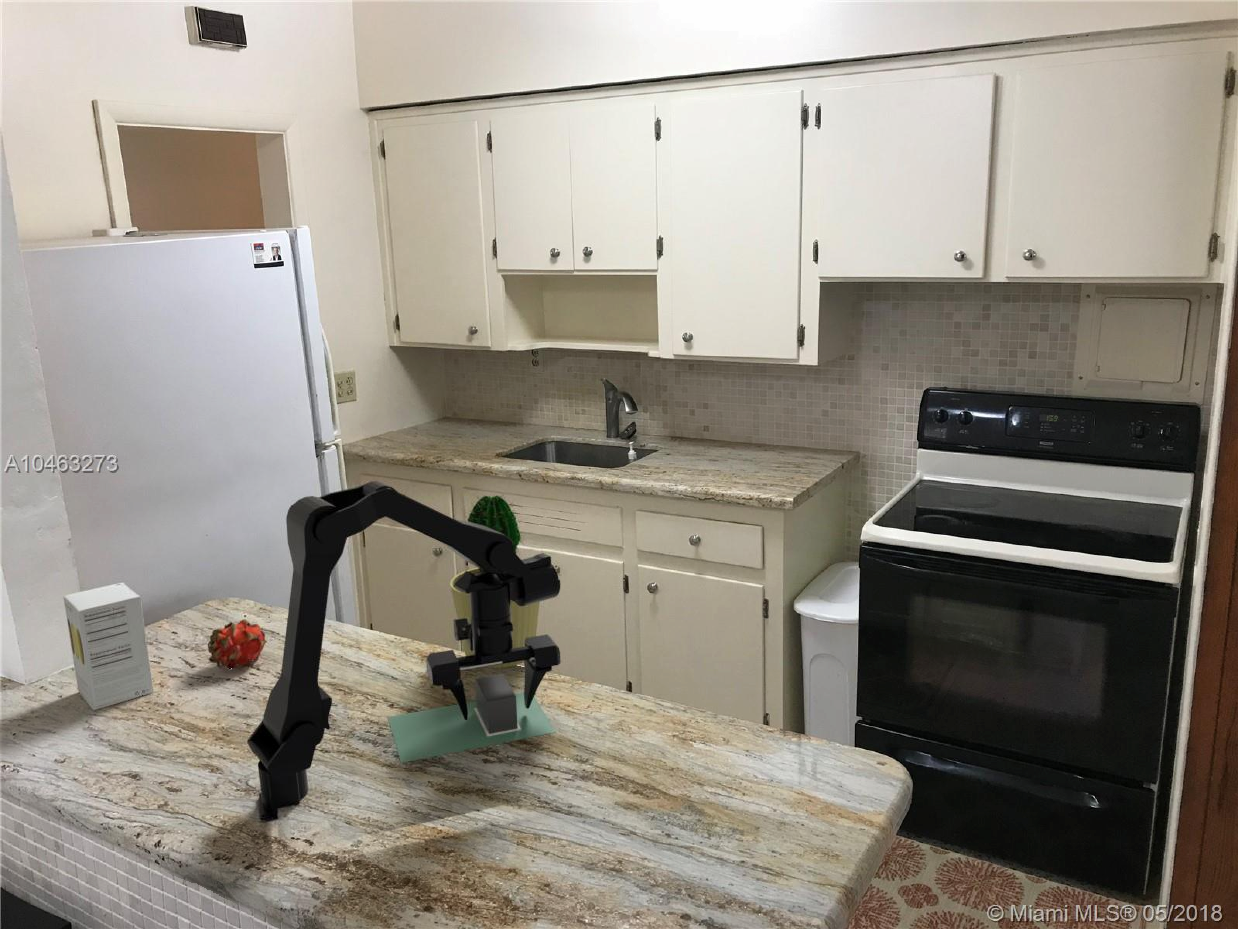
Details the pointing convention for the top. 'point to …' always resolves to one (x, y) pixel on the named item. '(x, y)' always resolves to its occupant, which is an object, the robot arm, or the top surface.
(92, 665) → the supplement box
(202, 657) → the top surface
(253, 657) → the dragon fruit
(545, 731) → the board
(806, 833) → the top surface
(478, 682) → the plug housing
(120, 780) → the top surface
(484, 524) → the potted cactus
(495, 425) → the top surface
